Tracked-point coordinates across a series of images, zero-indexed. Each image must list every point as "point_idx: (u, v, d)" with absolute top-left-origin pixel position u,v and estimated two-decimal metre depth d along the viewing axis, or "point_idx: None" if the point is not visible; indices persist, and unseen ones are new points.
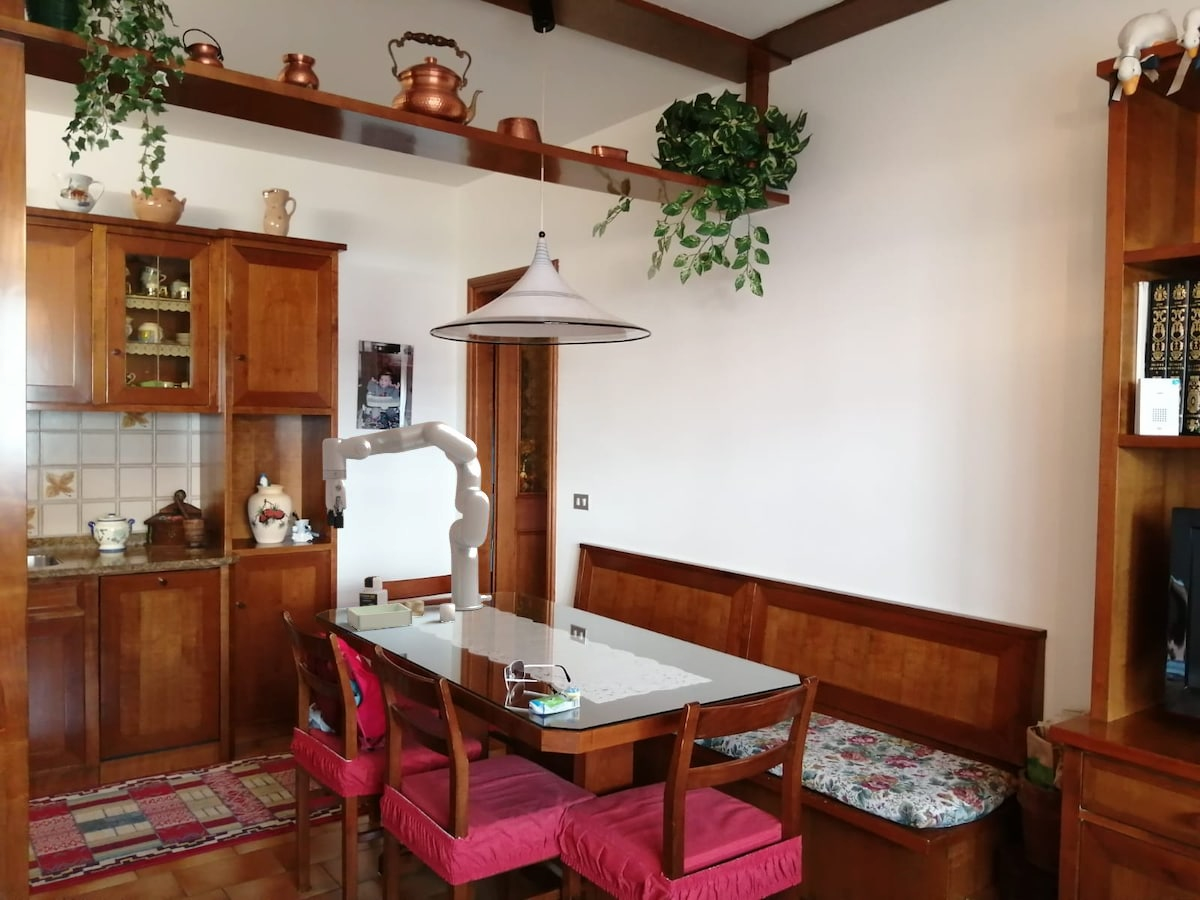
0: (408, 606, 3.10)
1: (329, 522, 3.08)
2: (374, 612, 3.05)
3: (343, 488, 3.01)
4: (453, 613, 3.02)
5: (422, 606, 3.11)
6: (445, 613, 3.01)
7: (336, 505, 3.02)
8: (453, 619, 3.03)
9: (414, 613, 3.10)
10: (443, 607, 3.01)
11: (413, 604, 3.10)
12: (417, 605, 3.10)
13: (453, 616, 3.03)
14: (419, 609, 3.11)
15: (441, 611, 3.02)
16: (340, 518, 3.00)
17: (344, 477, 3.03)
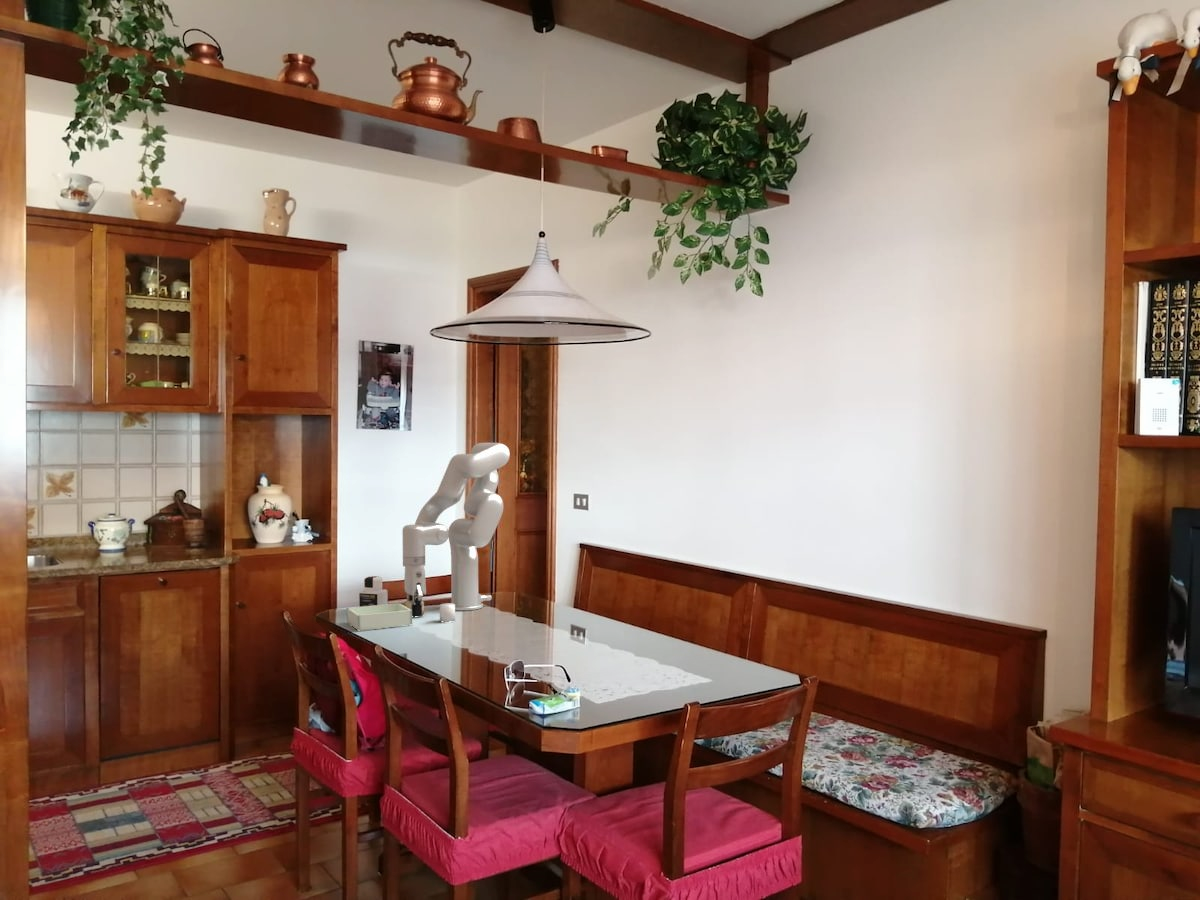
0: (408, 606, 3.10)
1: None
2: (374, 612, 3.05)
3: (423, 574, 3.09)
4: (453, 613, 3.03)
5: (422, 606, 3.11)
6: (445, 613, 3.01)
7: None
8: (453, 619, 3.03)
9: None
10: (443, 607, 3.01)
11: None
12: None
13: (453, 616, 3.03)
14: None
15: (441, 611, 3.02)
16: (419, 606, 3.09)
17: (423, 563, 3.11)
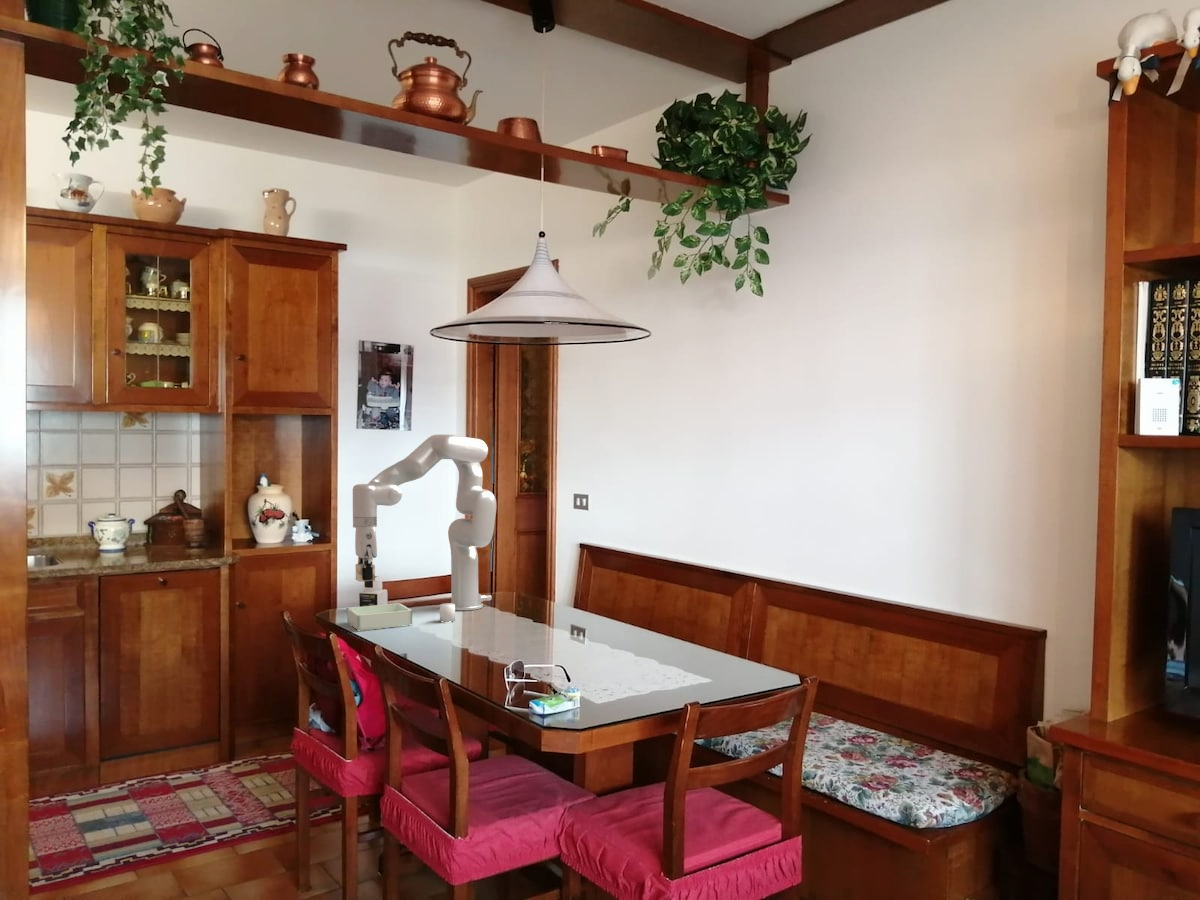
0: (358, 569, 2.94)
1: None
2: (374, 612, 3.05)
3: (374, 536, 2.93)
4: (453, 613, 3.03)
5: (373, 569, 2.95)
6: (445, 613, 3.01)
7: None
8: (453, 619, 3.03)
9: None
10: (443, 607, 3.01)
11: None
12: None
13: (453, 616, 3.03)
14: None
15: (441, 611, 3.02)
16: (369, 569, 2.94)
17: (375, 524, 2.95)
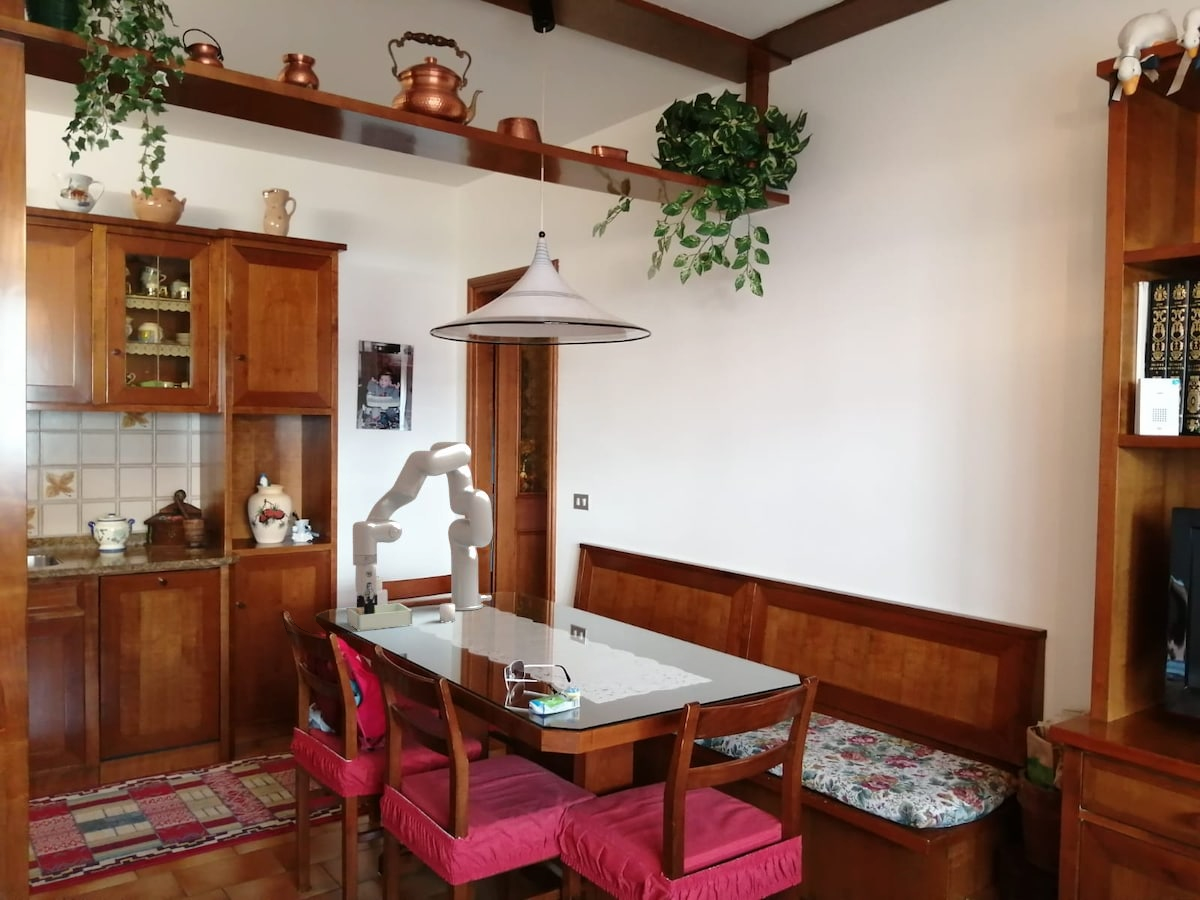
0: (358, 613, 2.95)
1: None
2: None
3: (374, 574, 2.93)
4: (453, 613, 3.02)
5: None
6: (445, 613, 3.01)
7: (367, 591, 2.94)
8: (453, 619, 3.03)
9: None
10: (443, 607, 3.01)
11: None
12: None
13: (453, 616, 3.03)
14: None
15: (441, 611, 3.02)
16: (371, 605, 2.92)
17: (375, 562, 2.96)
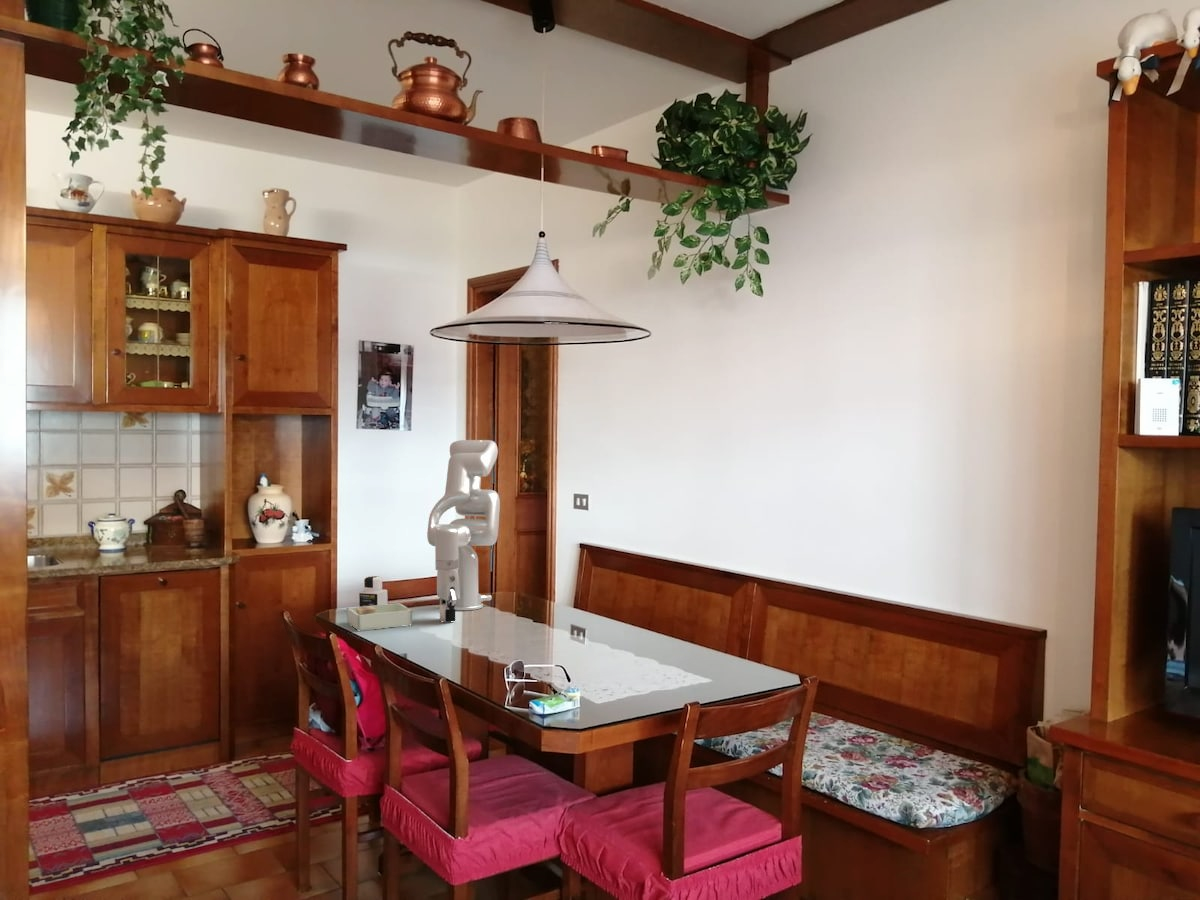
0: (358, 613, 2.95)
1: None
2: None
3: (457, 578, 3.00)
4: None
5: (373, 613, 2.96)
6: None
7: None
8: None
9: None
10: (443, 607, 3.01)
11: (364, 611, 2.94)
12: (368, 612, 2.95)
13: None
14: None
15: (441, 611, 3.02)
16: (452, 611, 3.01)
17: (457, 567, 3.02)
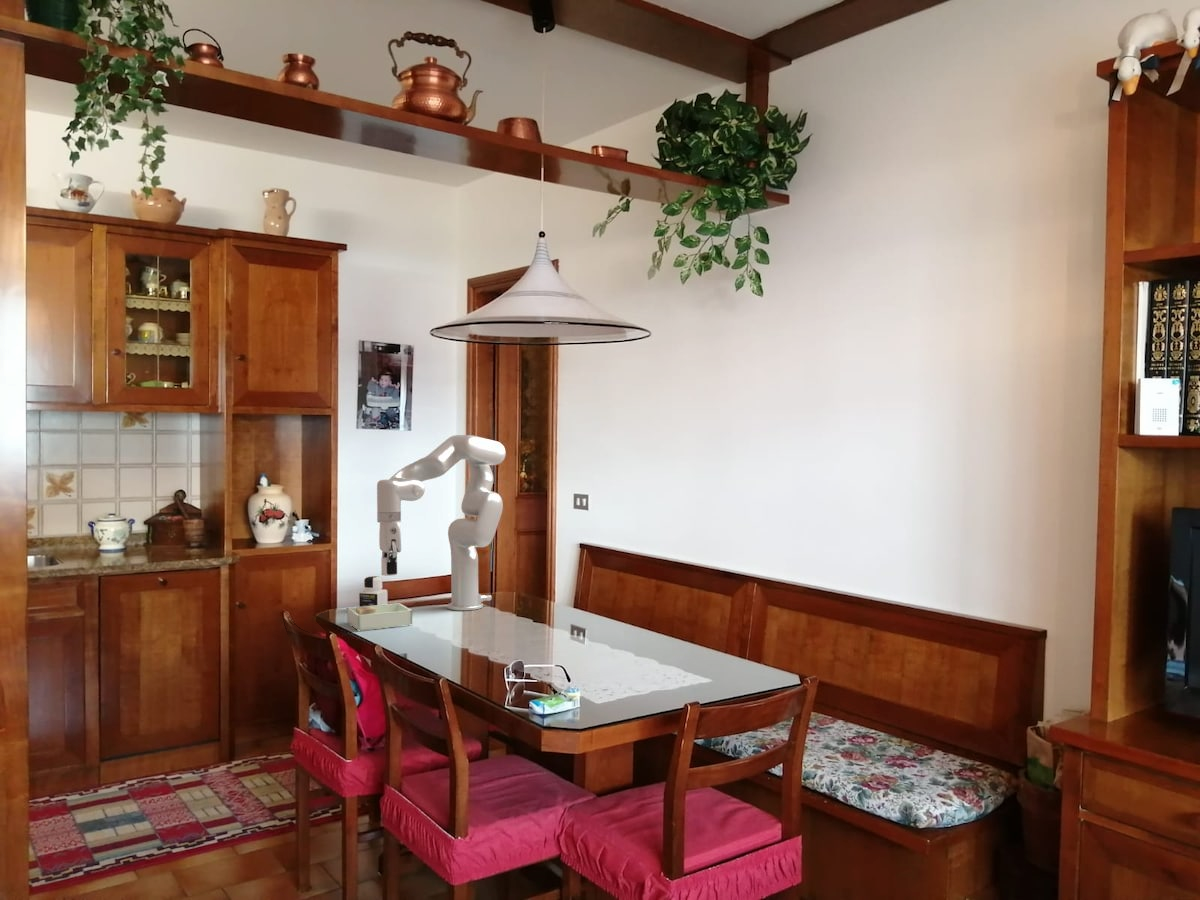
0: (358, 613, 2.95)
1: None
2: None
3: (398, 531, 2.97)
4: None
5: (373, 613, 2.96)
6: (386, 566, 2.98)
7: None
8: None
9: None
10: (384, 560, 2.98)
11: (364, 611, 2.94)
12: (368, 612, 2.95)
13: None
14: None
15: (382, 564, 2.98)
16: (393, 564, 2.97)
17: (399, 519, 2.99)
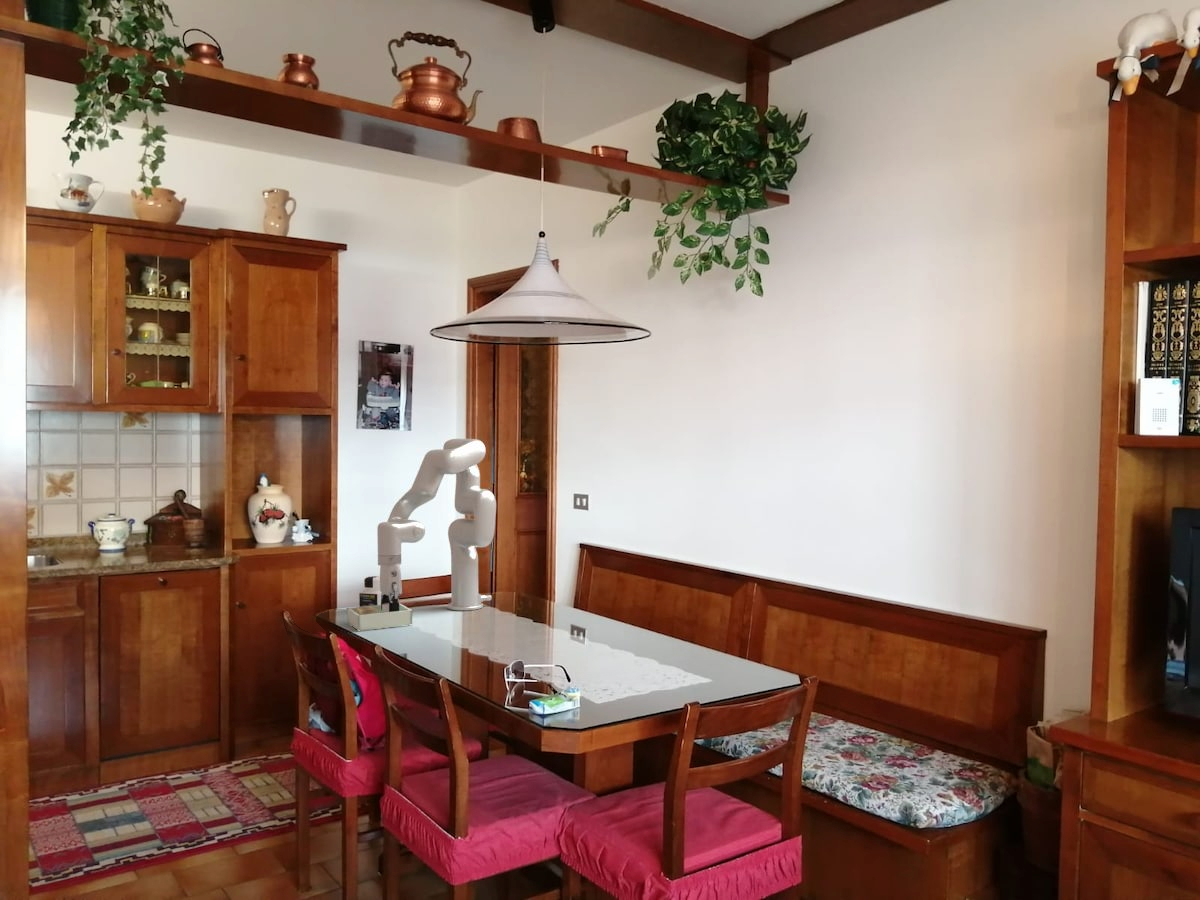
0: (358, 613, 2.95)
1: None
2: None
3: (399, 574, 2.97)
4: None
5: (373, 613, 2.96)
6: None
7: (391, 591, 2.98)
8: None
9: None
10: (385, 607, 2.98)
11: (364, 611, 2.94)
12: (368, 612, 2.95)
13: None
14: None
15: (383, 611, 2.99)
16: (396, 605, 2.96)
17: (399, 562, 2.99)
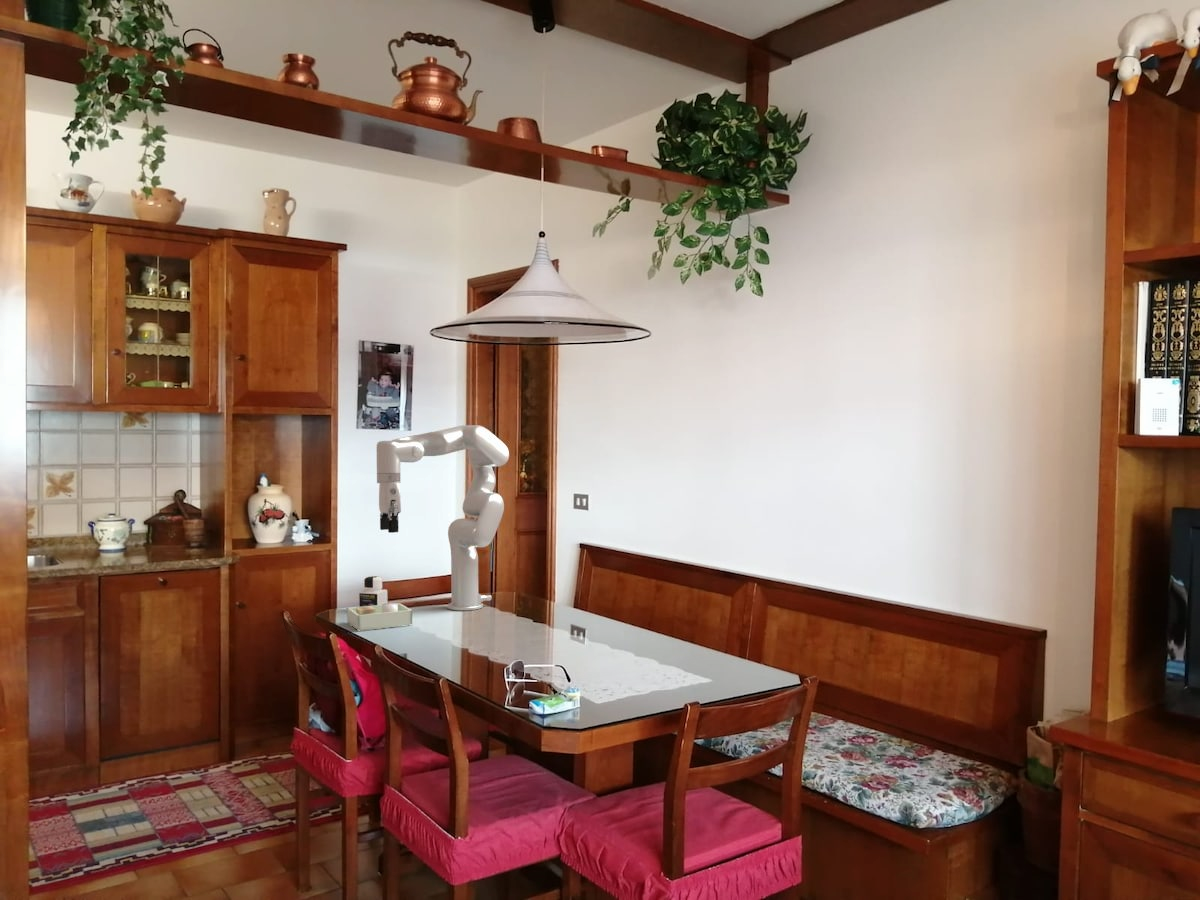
0: (358, 613, 2.95)
1: (382, 526, 3.04)
2: None
3: (398, 491, 2.97)
4: None
5: (373, 613, 2.96)
6: None
7: (391, 509, 2.97)
8: None
9: None
10: (385, 607, 2.98)
11: (364, 611, 2.94)
12: (368, 612, 2.95)
13: None
14: None
15: (383, 611, 2.99)
16: (395, 522, 2.95)
17: (398, 480, 2.99)
